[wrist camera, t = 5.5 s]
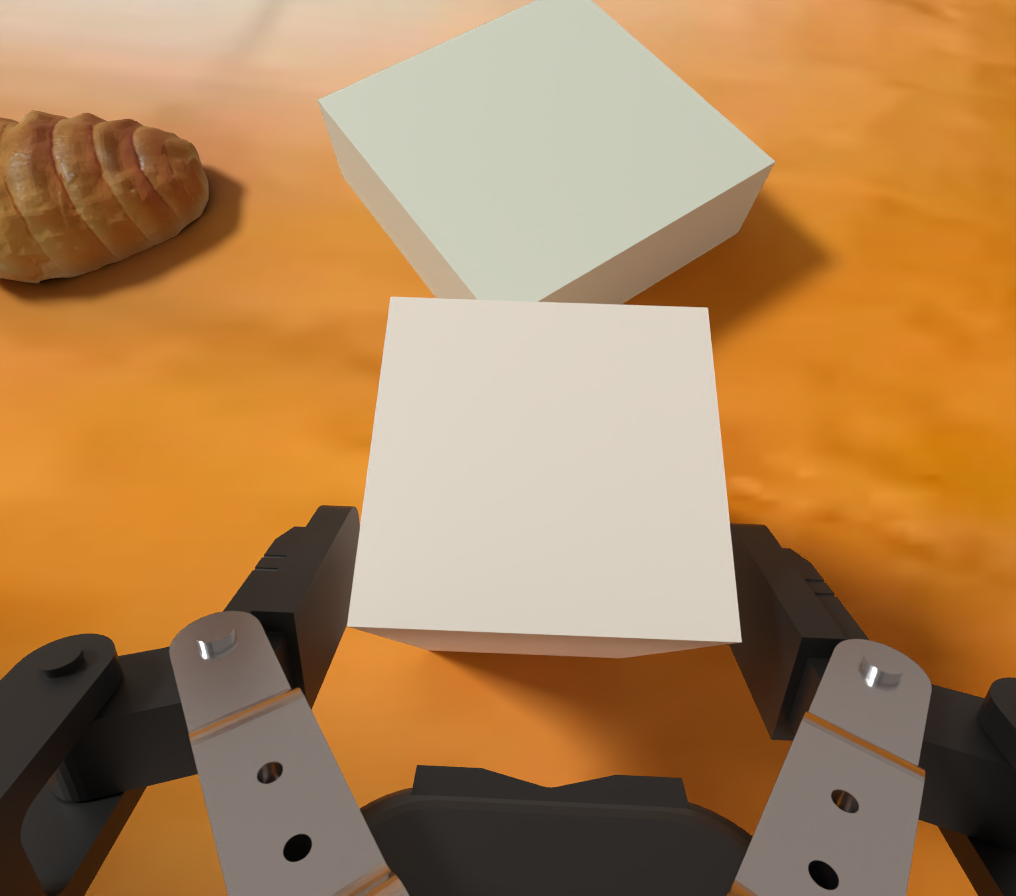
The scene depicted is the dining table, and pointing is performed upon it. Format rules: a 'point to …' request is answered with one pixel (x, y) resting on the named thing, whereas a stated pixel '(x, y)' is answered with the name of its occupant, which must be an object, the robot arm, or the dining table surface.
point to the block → (543, 160)
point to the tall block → (546, 482)
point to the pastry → (90, 193)
